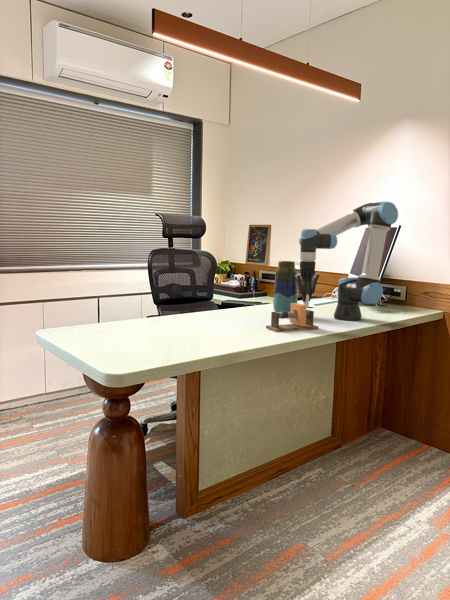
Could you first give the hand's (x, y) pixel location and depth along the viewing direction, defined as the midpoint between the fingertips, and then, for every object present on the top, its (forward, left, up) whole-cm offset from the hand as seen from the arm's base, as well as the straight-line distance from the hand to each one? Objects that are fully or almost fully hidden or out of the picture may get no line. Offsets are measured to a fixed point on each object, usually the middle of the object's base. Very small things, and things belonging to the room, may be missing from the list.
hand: (305, 308), depth 230 cm
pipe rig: (+7, 0, -10) cm, 12 cm away
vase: (-9, -36, -10) cm, 38 cm away
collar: (+4, 0, -8) cm, 9 cm away
